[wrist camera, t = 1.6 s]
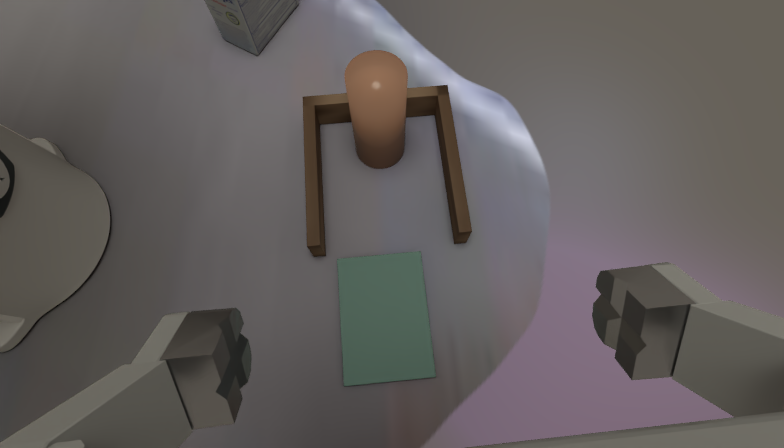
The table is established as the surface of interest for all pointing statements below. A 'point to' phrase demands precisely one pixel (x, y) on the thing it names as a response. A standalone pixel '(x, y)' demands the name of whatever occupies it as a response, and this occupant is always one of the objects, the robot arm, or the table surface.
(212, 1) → the medicine box
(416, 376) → the pad
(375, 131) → the terracotta canister
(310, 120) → the frame
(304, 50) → the table surface
